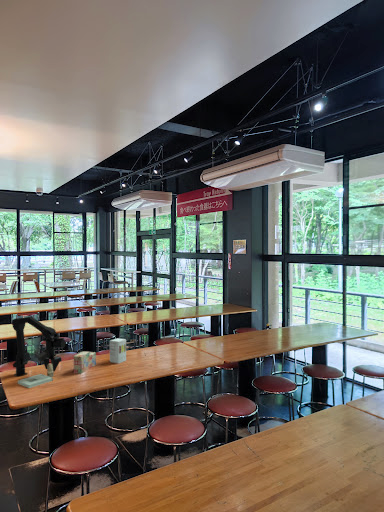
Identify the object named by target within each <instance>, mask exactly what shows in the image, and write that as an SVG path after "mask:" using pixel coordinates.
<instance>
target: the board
mask: <svg viewBox="0 0 384 512" xmlns="http://www.w3.org/2000/svg"><path fill="white" fill-rule="evenodd" d="M51 382H53V377H49V376H47V375H46V374H42V373H39V374H37V375H36V374H35V375H33V376H28V377H26V378H22V379H19V380H17V384H18V385H20V386H23V387H25V388H28V389H31V388H34V387H38V386H40V385H43V384H46V383H51Z"/></svg>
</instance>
